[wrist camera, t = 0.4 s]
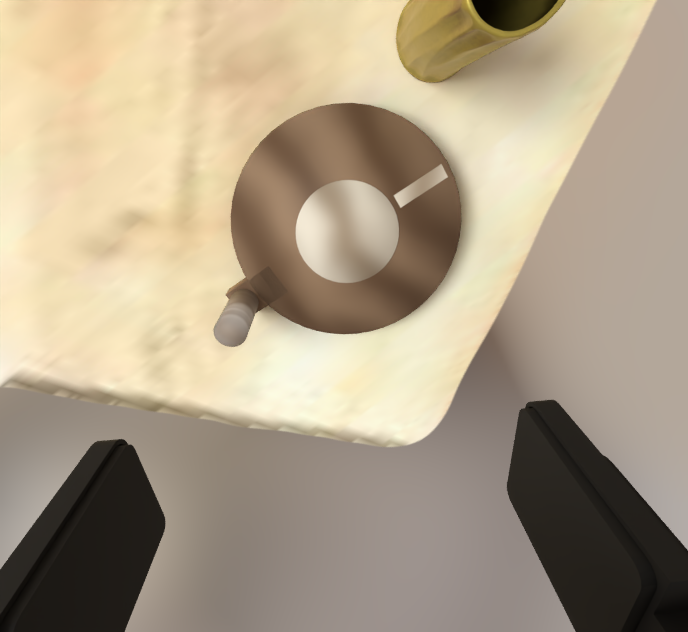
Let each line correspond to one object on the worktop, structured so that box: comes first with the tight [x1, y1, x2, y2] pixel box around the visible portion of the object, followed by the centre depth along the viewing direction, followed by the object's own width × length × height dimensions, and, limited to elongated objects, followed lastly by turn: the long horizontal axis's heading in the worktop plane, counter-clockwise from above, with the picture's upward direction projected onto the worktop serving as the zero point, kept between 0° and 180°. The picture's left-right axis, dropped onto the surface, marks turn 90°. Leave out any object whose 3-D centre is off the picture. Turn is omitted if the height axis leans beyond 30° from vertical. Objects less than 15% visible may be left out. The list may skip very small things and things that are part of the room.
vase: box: [396, 0, 565, 82], centre depth 23 cm, size 6×6×14 cm
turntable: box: [214, 103, 461, 347], centre depth 31 cm, size 23×20×8 cm
